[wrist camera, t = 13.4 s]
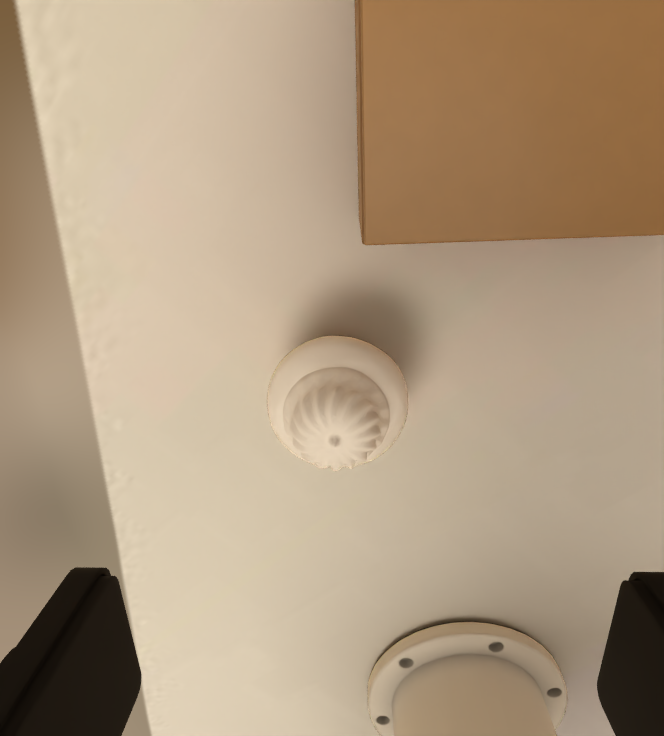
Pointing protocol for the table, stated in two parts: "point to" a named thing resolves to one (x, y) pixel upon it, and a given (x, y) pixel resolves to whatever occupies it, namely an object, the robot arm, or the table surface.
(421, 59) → the flap
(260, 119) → the table surface
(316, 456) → the muffin
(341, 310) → the table surface
